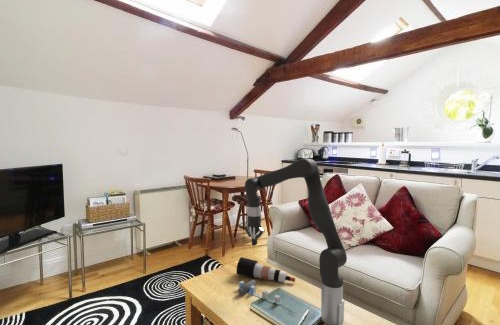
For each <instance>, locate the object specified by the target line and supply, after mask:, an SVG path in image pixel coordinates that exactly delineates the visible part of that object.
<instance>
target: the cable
mask: <svg viewBox="0 0 500 325" xmlns="http://www.w3.org/2000/svg"><path fill="white" fill-rule="evenodd" d="M235 271H236V274H237V275H238V276H242V277H245V278H249V279H252V280H255V278H259V279H263V280H267V281H268V280H269V281H274V282H278V283H281V284H286V281H289V282H294V283H296V282H295V281H296V278H295V277H293V276H288V272H287V271H283V270H281V269H277V268H273V267H270V266H266V265H263V264H260V263H259V261H258V260H254V259H251V258H246V257H239V259H238V261H237V265H236V270H235Z"/></svg>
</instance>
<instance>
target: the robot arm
mask: <svg viewBox="0 0 500 325" xmlns="http://www.w3.org/2000/svg"><path fill="white" fill-rule="evenodd" d="M319 170H320V169H319V167H318V164H317V162H316V161H315V160H314V159H312V158H300V159H298V160H296V161H294V162H293V163H291V164H288V165H287V166H284V167H282V168H279V169H275V170H273V171H269V172H267V173H264V174H262V175H259V176H255V177H251V178H247V179H246V181H245V183H244V191H245V194H246V197H247V207H246V208H247V209H246V210H247V211H246V216H247V220H246V221H247V225H246V226H244V230H245V232H246V234H247V237H249V238H251V244H252V246H253V247H254V246H255V247H256V246H257V244H258V239H259V238H261V237H262V235H263V234H264V233H265V232H266V231H265V229H263V228H262V225H261V223H262V208H261V196H260V195H258V193H257V191H259V190H263V189H265V188H269V187H272V186H276V185H278V184H281V183H283V182H284V181H288V180H291V179H299V178H302V179H303V178H304V181H305V185H306V188H307V207H308V210H309V215H310V217H311V220H312V222H313V224H314V225H315V227H317V229H318V230H319V231H320V232H321V234H322V235H323V238H324V239H325V243H326V247H327V248H326V249H323V250H321V252H320V254H319V261H318V262H319V276H320V278H321V279H320V280H321V288H320V289H321V290H320V292H321V294H320V295H321V298H320V300H321V301H320V302H321V304H320V309H321V310H320V318H321V317H322V319H321V321H322V322H323V323H324V324H326V325H342V323H343V321H344V320H345V299H344V298H343V297H344V295H343V294H344V278H343V276H342V275H340V274H339V269H340V268H341V267H343V266H345V264H346V263H347V260H348V258H347V252H346V249H345V247H344V245H343V243H342V241H341V238H340V236H339V232H338V230H337V227H336V224H335V222H334V218H333V214H332V211H331V208H330V205H329V202H328V200H327V196H326V194H325V193H326V192H325V190H324V186H323V185H322V184H323V183H322V180H321V176H320V171H319Z"/></svg>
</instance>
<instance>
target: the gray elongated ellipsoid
mask: <svg viewBox="0 0 500 325" xmlns="http://www.w3.org/2000/svg"><path fill="white" fill-rule="evenodd" d="M256 284H257V282H256V280H255V279H251V280H249V281H248V282H246V283H245V285H244V286H242V287H241V288H239V287H238V290H237V294H238V295H240V296H243V295H244V294H246V293H247V291H249V290H250V287H251V286H252V285H254V286H256Z"/></svg>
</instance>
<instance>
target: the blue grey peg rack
mask: <svg viewBox="0 0 500 325" xmlns="http://www.w3.org/2000/svg"><path fill="white" fill-rule="evenodd" d="M245 284H246V282H245V281H244V280H241V281H239V282H238V289H239V288H241V287H242V286H244V285H245ZM256 289H257V288H256V285H255V286H254V285H252V286H251V287H250V290H249V291H247V292H246V293H247V294H249V295H251V296H255V297H257V298H259V299H261V298H266V297H267V298H268V290H266V289H263V290H262V291H261V294H260V293H256V292H257V290H256ZM273 297H274V298H273V301H274V302H276V303H279V302H280V303H281V296H280V295H279V294H275V295H274V296H273Z"/></svg>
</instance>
